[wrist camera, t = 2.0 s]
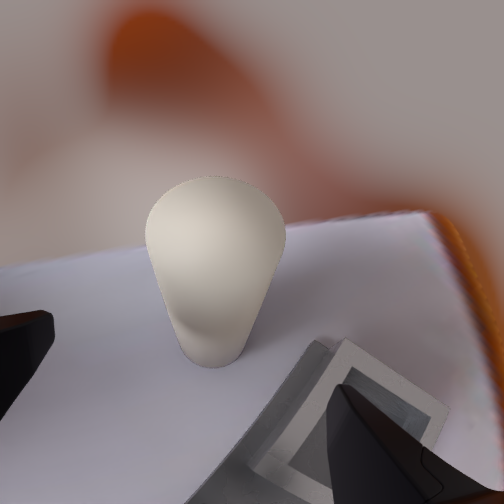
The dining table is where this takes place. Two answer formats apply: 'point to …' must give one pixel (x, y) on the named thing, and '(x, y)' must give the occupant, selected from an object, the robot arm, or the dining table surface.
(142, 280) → the dining table surface
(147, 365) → the dining table surface
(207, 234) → the peg
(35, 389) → the dining table surface
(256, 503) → the socket
